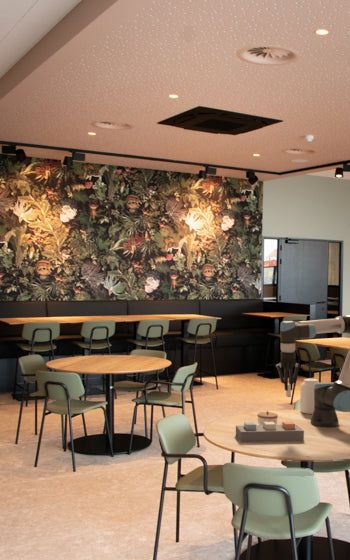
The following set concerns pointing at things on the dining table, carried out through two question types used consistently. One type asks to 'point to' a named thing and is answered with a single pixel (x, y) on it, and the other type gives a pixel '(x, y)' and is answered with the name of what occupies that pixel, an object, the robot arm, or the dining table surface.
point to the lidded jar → (267, 417)
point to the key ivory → (269, 425)
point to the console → (269, 434)
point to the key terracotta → (288, 425)
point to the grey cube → (249, 426)
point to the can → (307, 395)
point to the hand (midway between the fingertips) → (288, 396)
